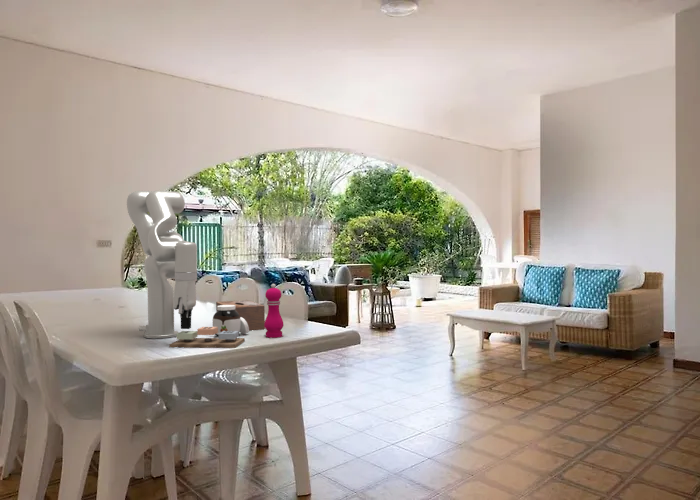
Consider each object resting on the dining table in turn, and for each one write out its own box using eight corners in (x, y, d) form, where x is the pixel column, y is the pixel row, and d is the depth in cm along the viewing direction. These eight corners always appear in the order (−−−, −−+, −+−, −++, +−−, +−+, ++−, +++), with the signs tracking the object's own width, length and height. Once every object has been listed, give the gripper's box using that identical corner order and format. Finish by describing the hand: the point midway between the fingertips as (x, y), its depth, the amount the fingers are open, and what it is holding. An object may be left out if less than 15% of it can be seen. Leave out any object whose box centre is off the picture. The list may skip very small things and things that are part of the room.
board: (169, 347, 189) (169, 341, 189) (182, 341, 201) (182, 335, 201) (235, 347, 187) (235, 342, 187) (244, 341, 199) (244, 335, 199)
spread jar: (209, 337, 209) (209, 306, 209) (226, 332, 219) (226, 303, 219) (236, 338, 205) (236, 307, 204) (252, 333, 215) (252, 304, 215)
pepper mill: (280, 338, 204) (279, 284, 204) (261, 337, 206) (260, 284, 206) (286, 335, 212) (285, 283, 211) (268, 334, 213) (267, 283, 213)
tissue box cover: (264, 330, 226) (264, 305, 225) (229, 333, 219) (229, 307, 219) (248, 322, 249) (248, 299, 249) (216, 324, 243) (216, 301, 243)
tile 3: (218, 339, 191) (218, 333, 191) (223, 336, 196) (223, 330, 196) (234, 339, 190) (234, 333, 190) (238, 336, 196) (238, 330, 196)
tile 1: (176, 339, 192) (176, 333, 192) (182, 336, 197) (182, 330, 197) (191, 339, 191) (191, 333, 191) (197, 336, 197) (197, 330, 197)
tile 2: (197, 335, 191) (197, 328, 191) (202, 332, 197) (202, 326, 197) (213, 335, 191) (212, 328, 191) (218, 332, 196) (217, 326, 196)
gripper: (183, 274, 202) (183, 324, 203) (166, 278, 187) (167, 332, 188) (203, 275, 201) (203, 325, 202) (188, 279, 186) (188, 333, 187)
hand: (185, 328), depth 195 cm, fingers closed
